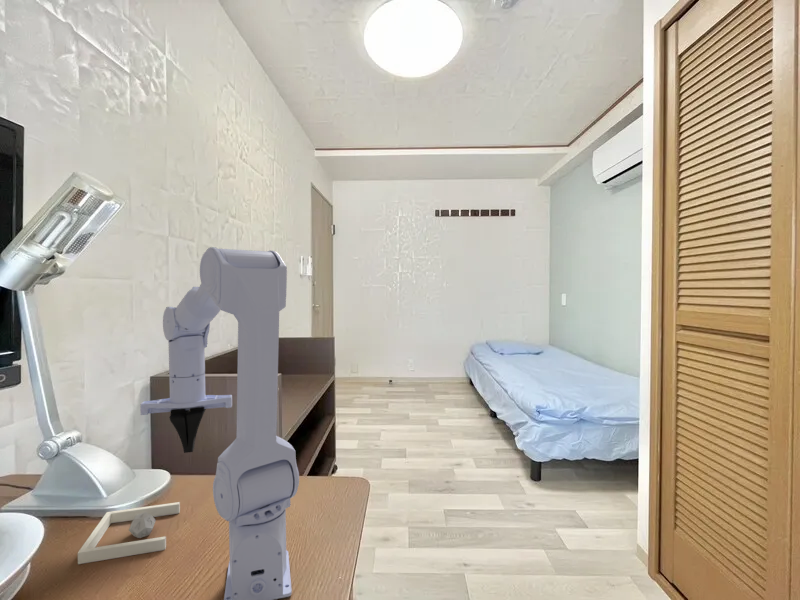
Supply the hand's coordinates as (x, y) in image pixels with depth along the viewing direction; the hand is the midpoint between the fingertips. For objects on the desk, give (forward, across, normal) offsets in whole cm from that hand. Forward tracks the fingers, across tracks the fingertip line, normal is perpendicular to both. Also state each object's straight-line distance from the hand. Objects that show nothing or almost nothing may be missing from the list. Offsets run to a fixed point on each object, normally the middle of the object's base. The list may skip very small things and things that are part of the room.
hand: (189, 450), depth 77 cm
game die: (+10, +6, +8) cm, 14 cm away
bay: (+10, +6, +8) cm, 14 cm away
